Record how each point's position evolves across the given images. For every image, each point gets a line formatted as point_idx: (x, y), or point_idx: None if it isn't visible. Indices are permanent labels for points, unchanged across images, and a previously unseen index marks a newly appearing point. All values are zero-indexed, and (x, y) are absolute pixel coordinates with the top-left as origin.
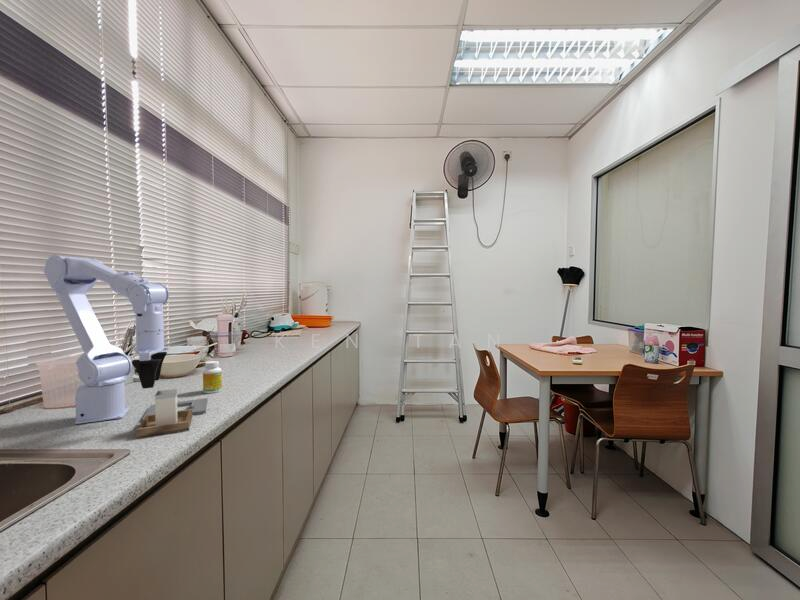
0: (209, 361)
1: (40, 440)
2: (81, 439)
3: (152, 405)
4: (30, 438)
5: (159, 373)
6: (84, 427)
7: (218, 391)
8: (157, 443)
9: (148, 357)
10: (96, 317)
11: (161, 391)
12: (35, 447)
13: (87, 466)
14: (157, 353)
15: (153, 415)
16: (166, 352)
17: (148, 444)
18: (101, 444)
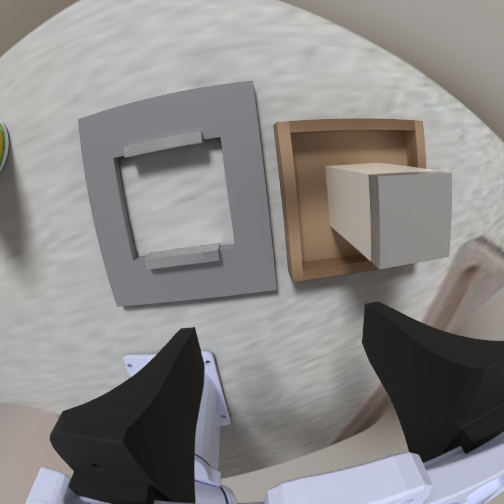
0: None
1: (309, 429)
2: (347, 372)
3: (121, 300)
4: (288, 445)
5: (185, 347)
6: (257, 400)
7: (2, 122)
8: (459, 192)
9: None
10: None
11: (396, 248)
12: (348, 418)
13: (487, 290)
14: (139, 483)
15: (301, 255)
16: (80, 435)
17: (456, 211)
18: None
